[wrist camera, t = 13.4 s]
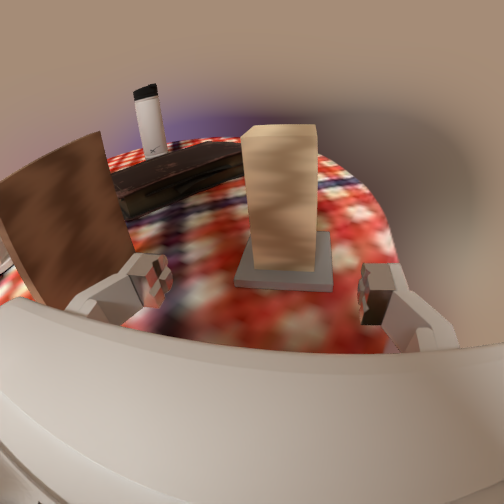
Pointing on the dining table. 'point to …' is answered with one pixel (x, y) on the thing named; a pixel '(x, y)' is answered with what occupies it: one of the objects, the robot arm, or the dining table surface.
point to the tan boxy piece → (282, 195)
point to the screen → (64, 222)
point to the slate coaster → (289, 279)
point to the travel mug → (150, 121)
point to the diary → (176, 176)
